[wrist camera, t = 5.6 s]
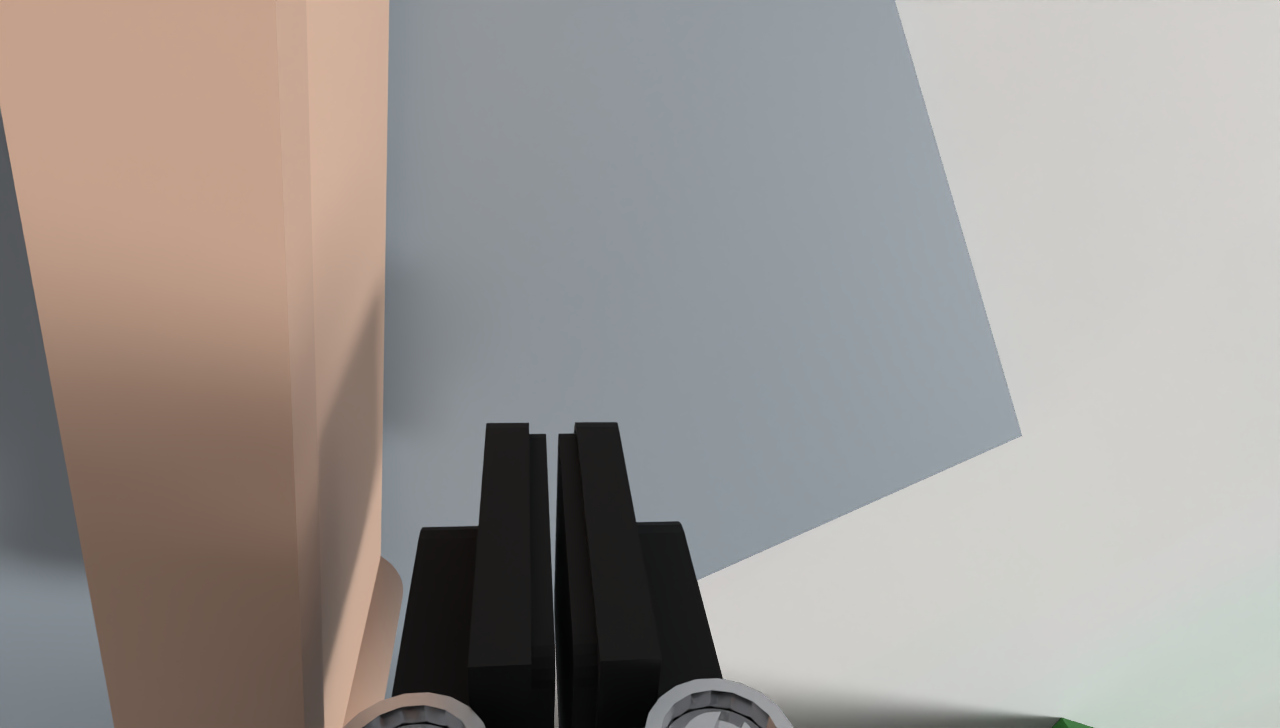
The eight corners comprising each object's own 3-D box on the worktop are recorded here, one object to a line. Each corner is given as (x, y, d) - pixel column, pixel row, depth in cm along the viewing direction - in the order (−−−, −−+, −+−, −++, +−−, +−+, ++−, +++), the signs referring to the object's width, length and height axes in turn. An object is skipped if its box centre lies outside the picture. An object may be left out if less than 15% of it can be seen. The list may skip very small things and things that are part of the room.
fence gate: (240, -335, 9) (-245, -764, 3) (430, -296, 10) (287, -625, 4) (288, 630, 15) (146, 1061, 10) (401, 633, 16) (330, 1050, 10)
